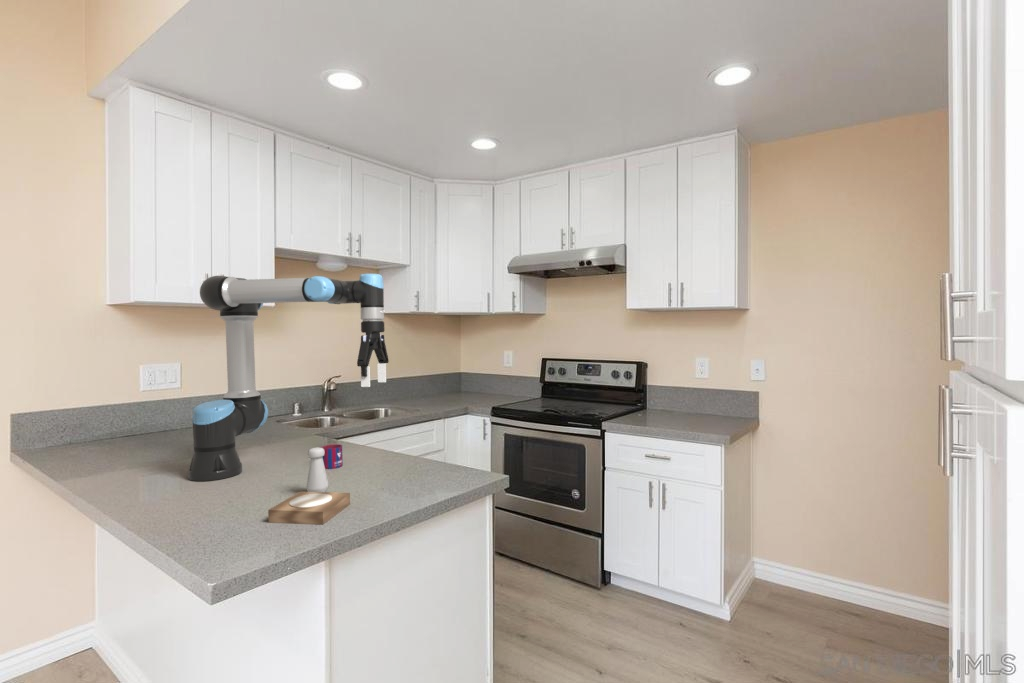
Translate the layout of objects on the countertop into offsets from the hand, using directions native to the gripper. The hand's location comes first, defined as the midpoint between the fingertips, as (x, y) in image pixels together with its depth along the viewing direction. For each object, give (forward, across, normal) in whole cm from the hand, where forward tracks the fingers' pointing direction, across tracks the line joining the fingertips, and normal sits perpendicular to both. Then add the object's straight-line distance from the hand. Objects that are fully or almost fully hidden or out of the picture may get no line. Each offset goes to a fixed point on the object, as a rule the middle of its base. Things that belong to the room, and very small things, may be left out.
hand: (374, 384), depth 171 cm
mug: (+28, 0, +17) cm, 33 cm away
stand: (+28, -43, -1) cm, 51 cm away
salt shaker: (+28, -29, +5) cm, 40 cm away
